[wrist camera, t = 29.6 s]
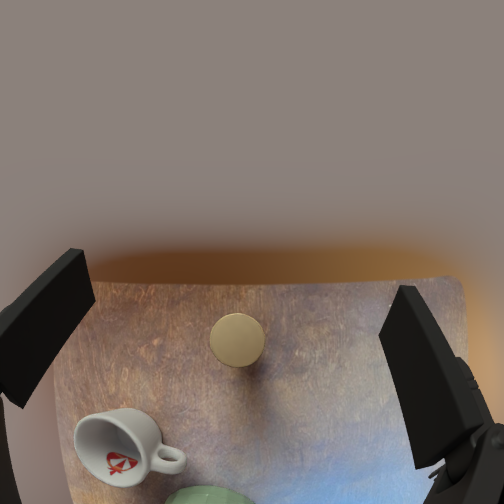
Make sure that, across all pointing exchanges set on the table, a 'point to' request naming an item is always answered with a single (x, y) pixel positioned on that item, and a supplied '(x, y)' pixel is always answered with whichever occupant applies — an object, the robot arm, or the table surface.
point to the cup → (124, 447)
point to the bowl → (207, 496)
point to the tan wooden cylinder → (237, 340)
